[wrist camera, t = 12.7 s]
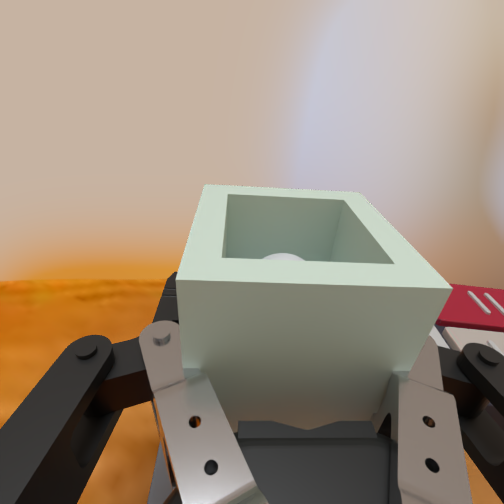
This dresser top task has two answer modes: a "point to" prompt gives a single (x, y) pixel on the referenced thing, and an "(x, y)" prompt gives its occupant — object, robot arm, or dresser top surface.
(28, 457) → the robot arm
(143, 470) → the dresser top surface
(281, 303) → the sleeve
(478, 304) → the dark gray paneled box
